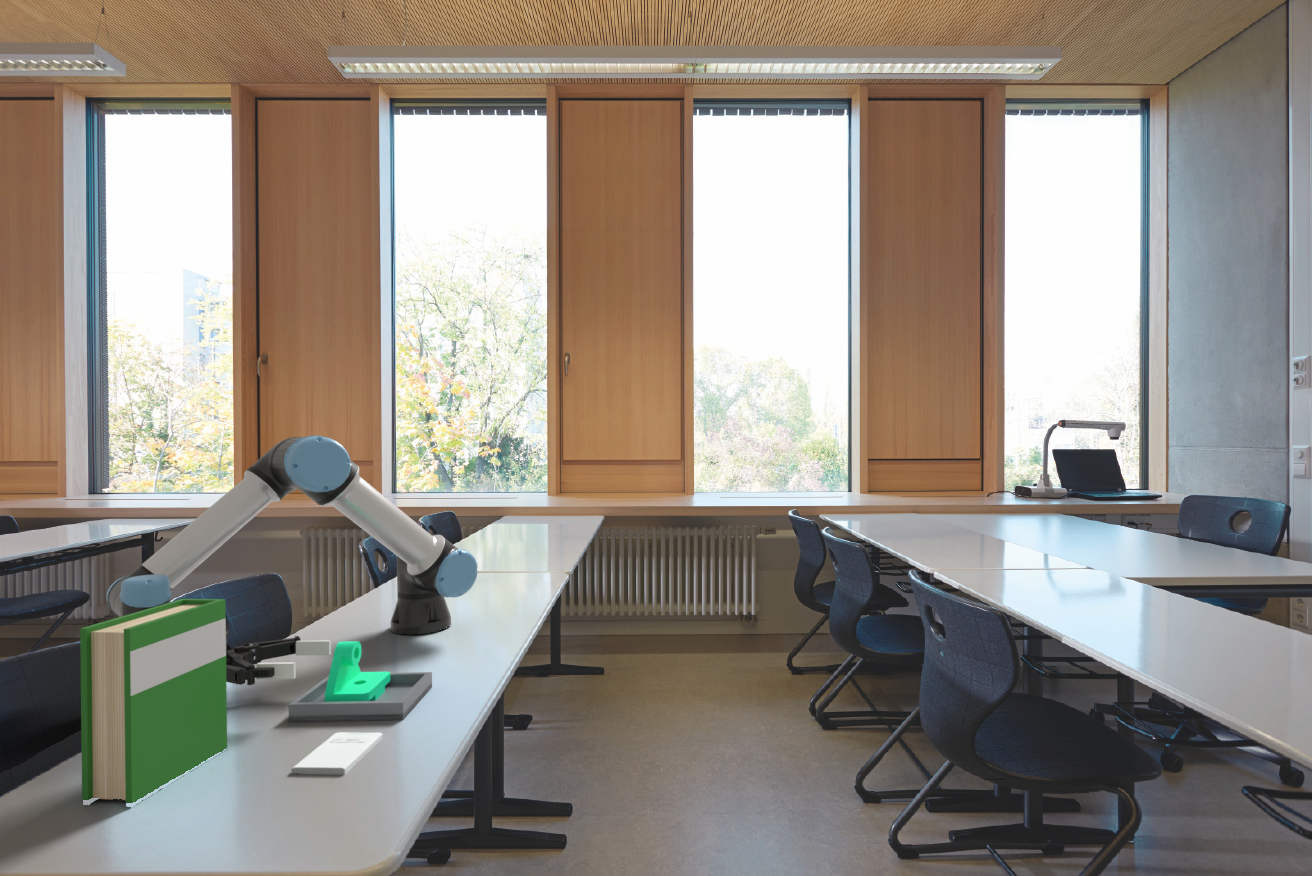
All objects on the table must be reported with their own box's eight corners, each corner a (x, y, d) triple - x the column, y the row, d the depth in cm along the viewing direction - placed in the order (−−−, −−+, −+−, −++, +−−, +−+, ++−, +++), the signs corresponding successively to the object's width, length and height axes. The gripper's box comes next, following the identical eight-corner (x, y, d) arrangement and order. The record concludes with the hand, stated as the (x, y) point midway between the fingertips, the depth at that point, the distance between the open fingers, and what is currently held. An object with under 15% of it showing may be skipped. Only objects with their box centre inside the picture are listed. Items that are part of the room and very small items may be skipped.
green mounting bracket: (367, 708, 124) (367, 650, 124) (324, 709, 124) (324, 651, 124) (392, 684, 136) (391, 632, 136) (353, 685, 136) (352, 633, 136)
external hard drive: (291, 778, 102) (334, 741, 114) (345, 778, 101) (383, 741, 114) (290, 767, 102) (334, 731, 114) (344, 767, 101) (383, 731, 114)
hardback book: (131, 808, 93) (129, 629, 93) (82, 805, 94) (80, 628, 94) (227, 749, 110) (225, 599, 111) (184, 748, 111) (182, 598, 111)
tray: (331, 689, 137) (330, 673, 137) (432, 687, 137) (431, 672, 137) (289, 721, 121) (288, 704, 121) (403, 719, 121) (403, 702, 121)
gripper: (238, 659, 141) (343, 657, 142) (151, 706, 116) (277, 703, 117) (238, 622, 141) (342, 621, 142) (150, 661, 116) (277, 659, 117)
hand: (313, 658), depth 129 cm, fingers open, 13 cm apart
